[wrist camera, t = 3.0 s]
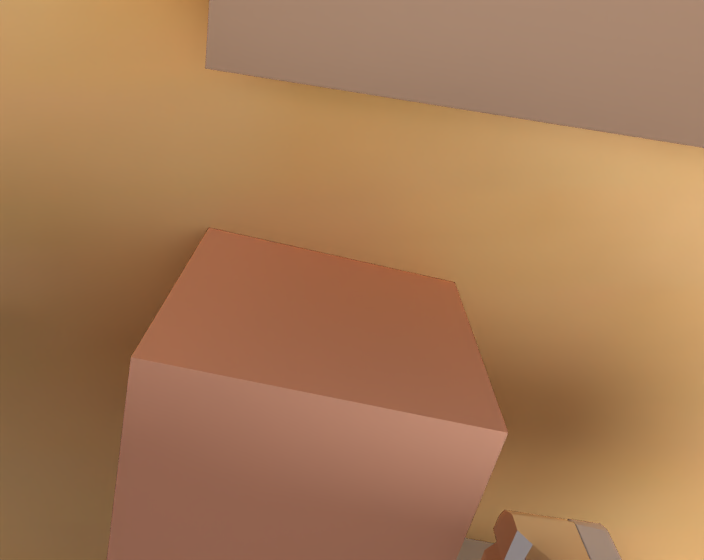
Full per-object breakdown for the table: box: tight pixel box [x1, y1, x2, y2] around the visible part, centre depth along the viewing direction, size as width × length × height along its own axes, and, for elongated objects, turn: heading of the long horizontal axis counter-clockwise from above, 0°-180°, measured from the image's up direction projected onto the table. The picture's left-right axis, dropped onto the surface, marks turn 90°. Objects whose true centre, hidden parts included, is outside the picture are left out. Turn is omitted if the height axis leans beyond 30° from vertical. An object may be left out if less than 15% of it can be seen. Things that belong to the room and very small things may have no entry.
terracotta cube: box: [107, 228, 508, 560], centre depth 12 cm, size 5×5×5 cm
